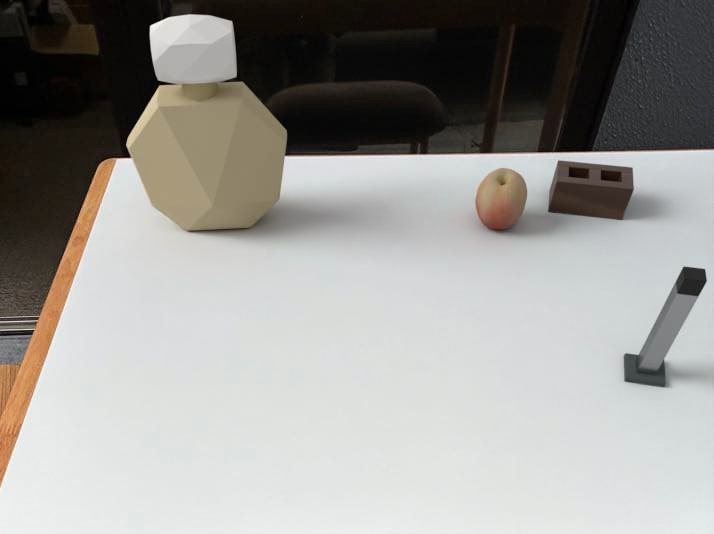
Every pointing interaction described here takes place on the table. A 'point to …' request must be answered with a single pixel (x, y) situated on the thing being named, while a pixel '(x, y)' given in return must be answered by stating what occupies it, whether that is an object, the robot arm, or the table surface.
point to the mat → (640, 378)
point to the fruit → (501, 198)
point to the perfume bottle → (205, 131)
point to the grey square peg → (671, 319)
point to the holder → (591, 189)
